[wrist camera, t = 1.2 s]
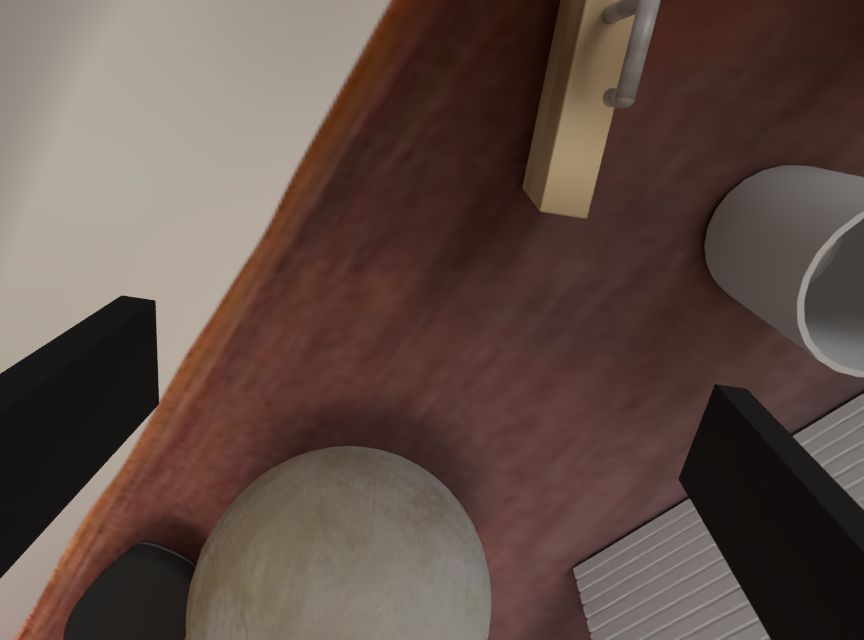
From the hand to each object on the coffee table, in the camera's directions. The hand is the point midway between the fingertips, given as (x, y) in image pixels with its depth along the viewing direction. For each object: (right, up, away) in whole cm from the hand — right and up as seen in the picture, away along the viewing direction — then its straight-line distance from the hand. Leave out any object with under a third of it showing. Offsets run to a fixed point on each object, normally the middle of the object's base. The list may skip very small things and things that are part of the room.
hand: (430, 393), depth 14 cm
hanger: (+6, +14, +13) cm, 20 cm away
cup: (+19, +6, +16) cm, 26 cm away
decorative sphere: (-4, -10, +23) cm, 25 cm away
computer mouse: (-19, -18, +22) cm, 34 cm away
